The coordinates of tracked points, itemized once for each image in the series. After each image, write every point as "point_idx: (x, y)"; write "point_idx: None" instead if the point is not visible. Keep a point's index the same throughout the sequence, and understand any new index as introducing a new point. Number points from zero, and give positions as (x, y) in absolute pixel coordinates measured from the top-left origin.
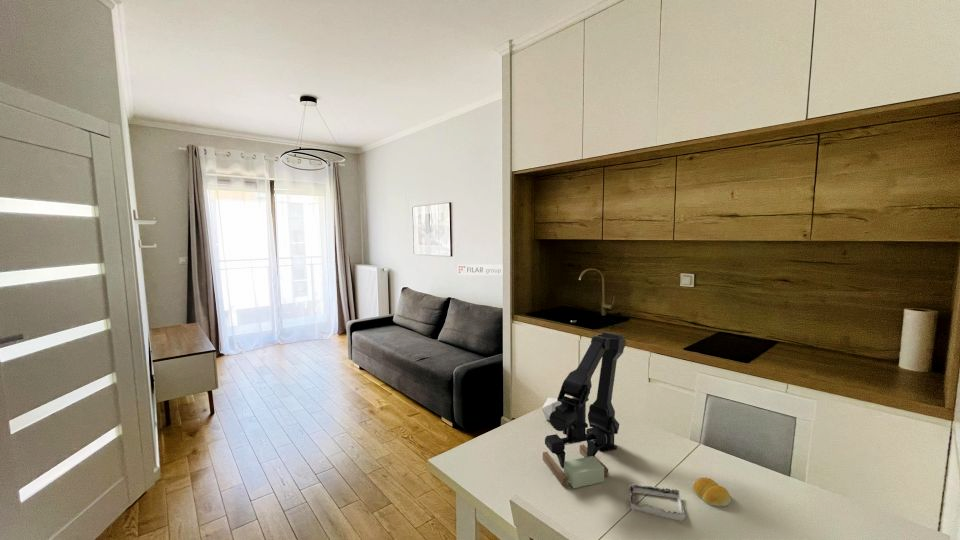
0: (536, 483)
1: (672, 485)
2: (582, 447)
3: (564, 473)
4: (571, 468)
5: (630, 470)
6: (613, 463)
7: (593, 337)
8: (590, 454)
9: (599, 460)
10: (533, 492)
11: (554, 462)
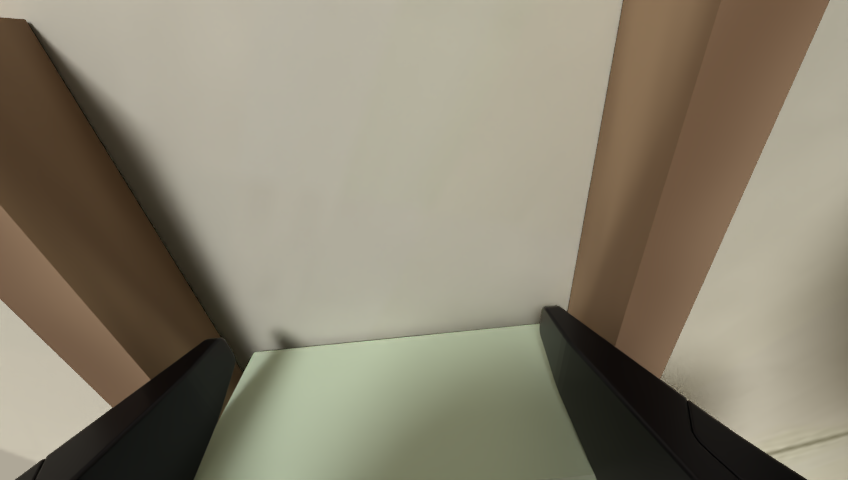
0: (12, 380)
1: (843, 459)
2: (726, 27)
3: (246, 379)
4: None
5: (801, 356)
6: (785, 271)
7: None
8: (602, 458)
9: (661, 368)
10: (17, 434)
11: (93, 334)
